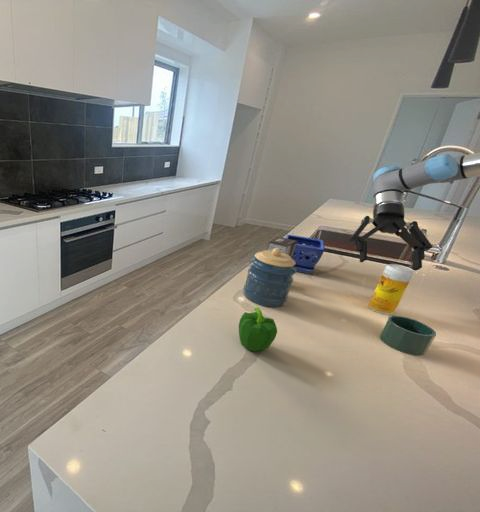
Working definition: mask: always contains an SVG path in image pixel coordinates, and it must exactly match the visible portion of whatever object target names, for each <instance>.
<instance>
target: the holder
mask: <svg viewBox="0 0 480 512" xmlns="http://www.w3.org/2000/svg"><path fill="white" fill-rule="evenodd" d="M436 337H437V331H436V330H434V329H433V328H432V327H431V326H429V325H427V324H426V323H424V322H421V321H419V320H418V319H414V318H410V317H407V316H402V315H390V316H388V318H387V320H386V322H385V324H384V325H383V328H382V330H381V332H380V335H379V339H380V341H382V342H383V344H385V345H386V346H388V347H390V348H392V349H394V350H396V351H398V352H401V353H403V354H408V355H412V356H424V355H425V354H426V352H428V350H429V348H430V346H431V344H432V343H433V341H434V340H435V338H436Z"/></svg>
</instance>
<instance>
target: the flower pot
mask: <svg viewBox="0 0 480 512" xmlns="http://www.w3.org/2000/svg"><path fill="white" fill-rule="evenodd" d="M285 238H287V239H291V240H295V241H297V243H296V247H295V250H294V253H293V256H292V259H293V260H294V261H295V263H296V264H295V265H294V267H295V268H296V272H299V273H303V274H312V273H313V272H314V271H315V266H316V265H317V264H318V263H319V261H320V260H321V258H322V256H323V254H324V252H325V249H326V248H325V241H324V240H323V239H318V238H313V237H307V236H301V235H293V234H286V235H285Z"/></svg>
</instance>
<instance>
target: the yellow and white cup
mask: <svg viewBox="0 0 480 512" xmlns="http://www.w3.org/2000/svg"><path fill="white" fill-rule="evenodd" d="M413 275H414V270H413V268H411V267H408V266H406V265H402V264H397V263H389V264H388V265H387V266H385V267H384V270H383V272H382V274H381V277H380V279H379V281H378V283H377V286H376V287H375V290H374V292H373V294H372V296H371V299H370V301H369V303H368V306H369V308H370V309H371V311H374V312H376V313H378V314H381V315H387V316H388V315H391V314H394V313H395V312H396V309H397V307H398V306H399V303H400V302H401V299H402V298H403V297H404V296H403V295H404V293H405V291H406V289H407V287H408V285H409V284H410V282H411V280H412V277H413Z"/></svg>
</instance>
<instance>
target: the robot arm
mask: <svg viewBox="0 0 480 512" xmlns="http://www.w3.org/2000/svg"><path fill="white" fill-rule="evenodd" d="M372 177H373V179H372V182H371V183H372V195H373V197H372V208H373V210H372V217H370V216H369V215H366V216H364V217H363V218H362V219H361V220H360V221H361V222H360V225H359V226H358V227H357V228H356V230H355V231H354V233H353V234H352V235H351V236H350V238H349V241H350V242H354V245H356V251H357V253H358V252H359V263H364V262H365V261H367V260H368V241H367V239H369V238H370V237H371V236H373V235H374V234H376V233H377V232H380V233H382V234H391V235H393V234H394V235H395V236H397V237H399V238H401V239H402V241H404V242H405V243H406V244H407V245H408V246H409V247H410V248H411V249H413V250H412V251H411V258H412V260H411V262H412V270H413V271H414V272H415V271H418V270H420V269H422V268H423V260H424V259H425V258H426V257H425V256H426V255H425V252H427V251H429V250H431V249H432V248H433V246H434V245H432V243H431V242H430V241H429V239H428V238H427V236H426V235H425V234H424V232H423V231H422V230H421V229H420V227H419V223H418V221H416V220H413V221H412V222H407V221H405V199H404V198H405V197H404V192H405V191H409V190H412V189H415V188H420V187H423V186H427V185H432V184H445V183H451V182H454V181H459V180H465V179H470V178H471V179H472V178H476V177H478V178H479V177H480V151H479V152H478V151H477V152H475V153H470V154H465V155H459V156H452V154H449V153H444V154H440V155H437V156H432V157H430V158H428V159H426V160H422V161H419V162H417V163H414V164H411V165H408V166H406V167H403V168H401V167H400V166H397V165H390V166H384V167H381V168H379V169H377V170H376V171H375V172H374V174H373V176H372ZM370 224H372V225H373V226H374V227H373V228H371V230H368V231H367V232H366V233H365V234H363V235H362V236H361V237H360V234H361V233H362V232H363V231H364V230H365V228H366V226H368V225H370Z"/></svg>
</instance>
